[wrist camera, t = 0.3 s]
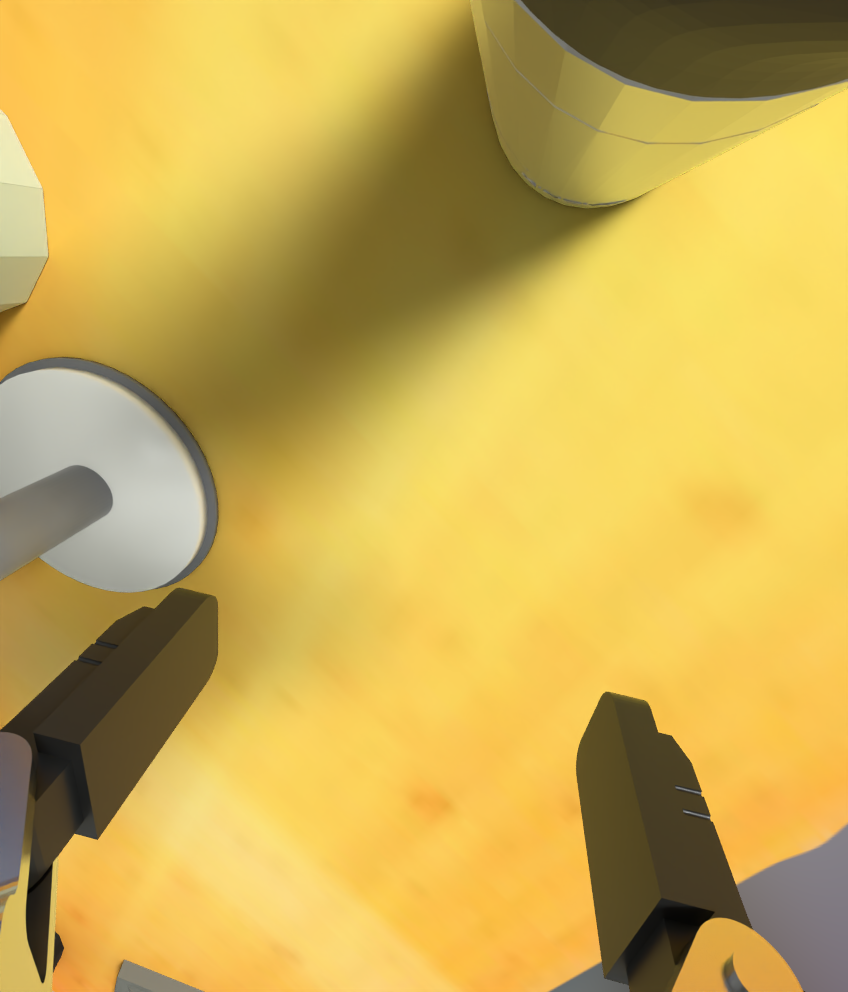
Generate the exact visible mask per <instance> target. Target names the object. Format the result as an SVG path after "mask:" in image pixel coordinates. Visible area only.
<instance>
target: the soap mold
mask: <svg viewBox="0 0 848 992" xmlns="http://www.w3.org/2000/svg"><path fill="white" fill-rule="evenodd" d="M115 992H204V991H201V990H199V989H196V988H194V987H191V986H189V985H186V984H184V983H181V982H179V981H176V980H174V979H172V978H169V977H167V976H164V975H162V974H159V973H157V972H154V971H152V970H149V969H147V968H144V967H142V966H139V965H137V964H134V963H132V962H129V961H127V960H124V962H123V964H122V967H121V969H120V972H119V974H118V977H117V982H116V987H115Z"/></svg>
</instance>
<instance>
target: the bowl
mask: <svg viewBox="0 0 848 992" xmlns="http://www.w3.org/2000/svg"><path fill="white" fill-rule="evenodd" d="M47 259H48V245H47V233H46V221H45V209H44V198H43V188H42V186H41V184H40V182H39V180H38V178H37V176H36V174H35V172H34V170H33V168H32V166H31V164H30V162H29V160H28V158H27V156H26V154H25V152H24V150H23V148H22V145H21V143H20V141H19V139H18V137H17V135H16V133H15V131H14V129H13V127H12V125H11V123H10V121H9V119H8V117H7V115H6V114H5V113H4V112H3V111H1V110H0V312H2V311H5V310H8V309H10V308H13V307H15V306H18V305H21V304H23V303H26V302H27V300H28V298H29V296H30V294H31V292H32V290H33V288H34V286H35V284H36V282H37V280H38V277H39V275H40V273H41V271H42V269H43V267H44V265H45V263H46V261H47Z"/></svg>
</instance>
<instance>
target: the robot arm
mask: <svg viewBox="0 0 848 992" xmlns="http://www.w3.org/2000/svg"><path fill="white" fill-rule="evenodd" d="M469 1H470V6H471V11H472V16H473V21H474V26H475V31H476V36H477V41H478V46H479V51H480V56H481V62H482V67H483V72H484V77H485V82H486V87H487V94H488V98H489V103H490V108H491V113H492V118H493V121H494V125H495V128H496V132H497V135H498V139H499V142H500V145H501V147H502V149H503V151H504V153H505V155H506V156H507V158H508V160H509V162H510V164H511V166H512V167H513V168H514V170H515V171H516V172H517V173H518V174H519V175H520V177H521V178H522V179H523V180H524V181H525V182H526V184H528V185H529V186H530V187H532V188H533V189H534V190H536V191H537V192H539V193H540V194H541V195H543V196H544V197H546V198H548V199H551V200H553V201H556V202H558V203H561V204H563V205H566V206H573V207H581V208H598V207H608V206H613V205H616V204H620V203H623V202H626V201H629V200H632V199H635V198H637V197H639V196H641V195H643V194H645V193H647V192H648V191H650V190H652V189H654V188H657V187H659V186H661V185H663V184H665V183H667V182H669V181H671V180H673V179H675V178H677V177H679V176H681V175H682V174H684V173H686V172H688V171H690V170H692V169H694V168H696V167H698V166H700V165H702V164H704V163H706V162H708V161H709V160H711V159H713V158H715V157H717V156H719V155H721V154H723V153H725V152H727V151H729V150H731V149H733V148H735V147H737V146H738V145H740V144H742V143H744V142H746V141H748V140H750V139H752V138H754V137H756V136H758V135H760V134H762V133H764V132H765V131H767V130H769V129H771V128H773V127H775V126H777V125H779V124H781V123H783V122H785V121H787V120H789V119H791V118H793V117H794V116H796V115H798V114H800V113H802V112H804V111H806V110H808V109H810V108H812V107H814V106H816V105H817V104H819V103H820V102H822V101H824V100H826V99H828V98H830V97H832V96H834V95H836V94H837V93H839V92H841V91H843V90H845V89H847V88H848V0H469ZM217 655H218V602H217V599H216V597H215V596H212V595H208V594H204V593H199V592H195V591H191V590H187V589H183V588H177V589H175V590H173V591H172V592H171V593H170V594H169V595H168V596H167V597H166V598H165V599H164V600H163V601H162V602H161V603H160V604H159V605H158V606H157V607H156V608H155V609H152V608H148V607H142V608H140V609H138V610H136V611H134V612H132V613H130V614H128V615H127V616H125V617H123V618H121V619H119V620H117V621H116V622H115V623H114V624H113V625H112V626H111V627H109V628H108V629H107V630H106V631H105V632H104V633H103V634H102V635H101V636H100V637H99V638H98V639H97V640H96V643H95V644H91V645H90V646H89V647H88V648H87V649H86V650H85V651H84V652H83V653H82V654H81V655H80V656H79V659H78V660H77V661H74V662H72V663H71V664H70V665H69V666H68V667H67V668H66V669H65V670H64V671H63V672H62V673H61V674H60V675H59V676H58V677H57V678H56V679H54V680H53V681H52V682H51V683H50V684H49V685H48V686H47V687H46V688H45V689H44V690H43V691H42V692H41V693H40V694H39V695H38V696H37V697H35V698H34V699H33V700H32V701H31V702H30V703H29V704H28V705H27V706H26V707H25V708H24V709H23V710H22V711H21V712H20V713H19V714H17V715H16V716H15V717H14V718H13V719H12V720H11V721H10V722H9V723H8V724H7V725H6V726H4V727H3V728H2V729H1V730H0V992H52V977H53V958H54V939H55V920H56V900H57V881H58V855H59V854H60V852H61V851H62V850H63V848H64V847H65V846H66V844H67V843H68V842H69V840H70V839H71V838H72V836H73V835H74V833H75V834H78V835H82V836H86V837H89V838H93V839H97V840H98V839H99V837H100V836H101V834H102V833H103V831H104V830H105V829H106V827H107V826H108V824H109V823H110V821H111V820H112V818H113V817H114V816H115V814H116V813H117V811H118V810H119V808H120V807H121V805H122V804H123V803H124V801H125V800H126V798H127V797H128V795H129V794H130V793H131V791H132V790H133V788H134V787H135V785H136V784H137V782H138V781H139V780H140V778H141V777H142V775H143V774H144V772H145V771H146V770H147V768H148V767H149V765H150V764H151V762H152V761H153V759H154V758H155V757H156V755H157V754H158V752H159V751H160V749H161V748H162V746H163V745H164V744H165V742H166V741H167V739H168V738H169V736H170V735H171V734H172V732H173V731H174V729H175V728H176V726H177V725H178V723H179V722H180V721H181V719H182V718H183V716H184V715H185V713H186V712H187V710H188V709H189V708H190V706H191V705H192V703H193V702H194V700H195V699H196V698H197V696H198V695H199V693H200V692H201V690H202V689H203V687H204V686H205V685H206V683H207V682H208V680H209V678H210V676H211V674H212V672H213V669H214V667H215V664H216V660H217ZM576 775H577V783H578V790H579V797H580V805H581V812H582V819H583V827H584V834H585V841H586V849H587V856H588V863H589V871H590V878H591V885H592V893H593V900H594V907H595V915H596V922H597V929H598V937H599V944H600V951H601V959H602V965H603V973H604V978H605V979H608V980H612V981H616V982H619V983H623V984H627V985H629V989H630V992H805V991H804V990H802V988H801V986H800V984H799V982H798V980H797V978H796V977H795V975H794V973H793V972H792V970H791V969H790V967H789V966H788V965H787V963H786V962H785V960H784V959H783V958H782V957H781V956H780V954H779V953H778V952H777V951H776V950H775V949H774V948H773V947H772V946H771V945H770V944H769V943H768V942H767V941H766V940H765V939H764V938H762V937H761V936H760V935H759V934H758V933H756V932H755V931H754V930H753V928H752V926H751V924H750V921H749V919H748V917H747V914H746V911H745V909H744V906H743V903H742V900H741V898H740V895H739V892H738V890H737V887H736V884H735V881H734V878H733V876H732V873H731V870H730V867H729V865H728V862H727V859H726V856H725V854H724V851H723V848H722V845H721V843H720V840H719V837H718V835H717V832H716V829H715V826H714V824H713V822H711V821H710V816H711V815H710V813H709V810H708V807H707V804H706V802H705V799H704V797H702V796H701V792H702V791H701V788H700V785H699V782H698V780H697V777H696V774H695V772H694V769H693V766H692V763H691V762H690V760H689V759H688V758H687V756H686V755H685V753H684V752H683V751H682V749H681V748H680V747H679V745H678V744H677V743H676V741H675V740H674V739H673V737H672V736H670V735H666V734H662V733H658V730H657V727H656V724H655V721H654V718H653V715H652V712H651V709H650V706H649V704H648V703H647V702H646V701H644V700H641V699H636V698H632V697H628V696H624V695H620V694H616V693H611V692H605V693H604V694H603V695H602V696H601V698H600V700H599V702H598V705H597V707H596V709H595V711H594V713H593V715H592V718H591V720H590V722H589V724H588V726H587V728H586V731H585V733H584V735H583V737H582V739H581V742H580V744H579V748H578V753H577V761H576Z"/></svg>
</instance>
